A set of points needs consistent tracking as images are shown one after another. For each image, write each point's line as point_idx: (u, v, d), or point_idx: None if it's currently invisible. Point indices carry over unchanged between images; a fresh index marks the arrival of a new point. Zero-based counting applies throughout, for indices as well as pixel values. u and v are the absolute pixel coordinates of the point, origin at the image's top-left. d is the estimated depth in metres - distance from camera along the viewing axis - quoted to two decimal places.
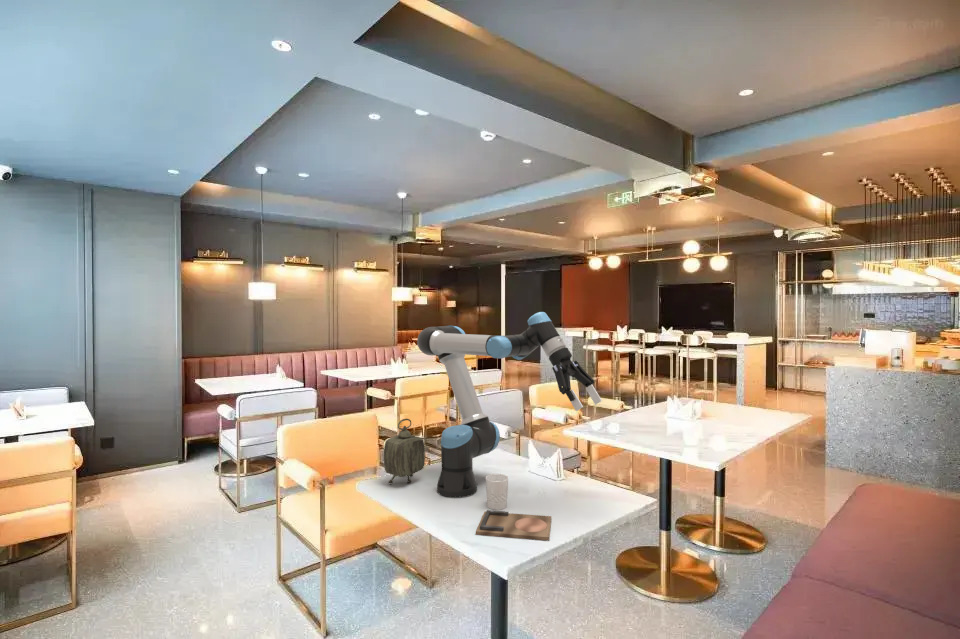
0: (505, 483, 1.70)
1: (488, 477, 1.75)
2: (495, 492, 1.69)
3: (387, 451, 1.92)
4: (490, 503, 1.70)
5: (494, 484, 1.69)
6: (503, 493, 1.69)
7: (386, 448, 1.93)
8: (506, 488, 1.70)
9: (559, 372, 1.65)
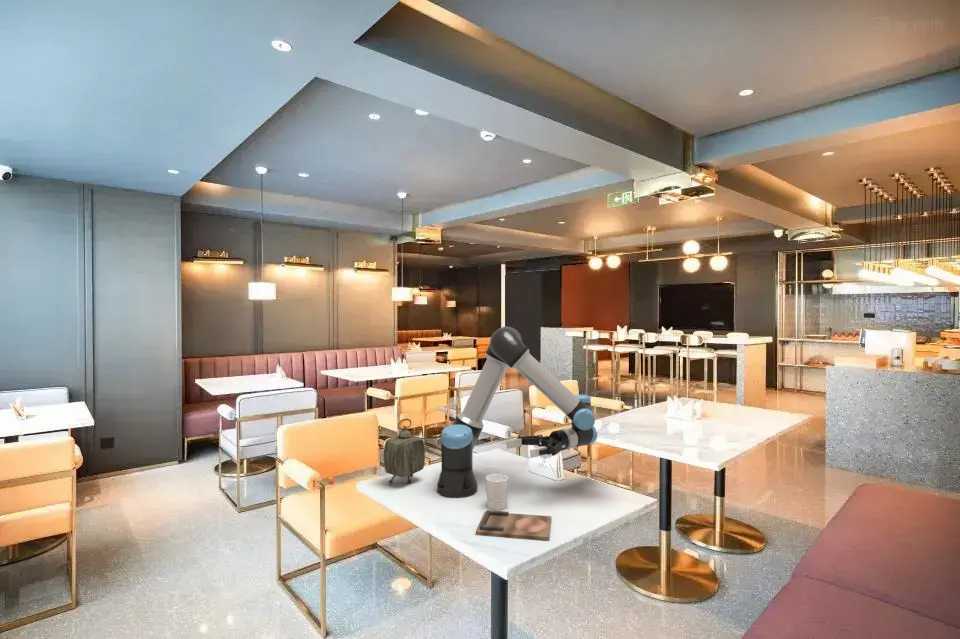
0: (505, 483, 1.70)
1: (488, 477, 1.75)
2: (495, 492, 1.69)
3: (387, 451, 1.92)
4: (490, 503, 1.70)
5: (494, 484, 1.69)
6: (503, 493, 1.69)
7: (386, 449, 1.93)
8: (506, 488, 1.70)
9: (561, 449, 1.79)
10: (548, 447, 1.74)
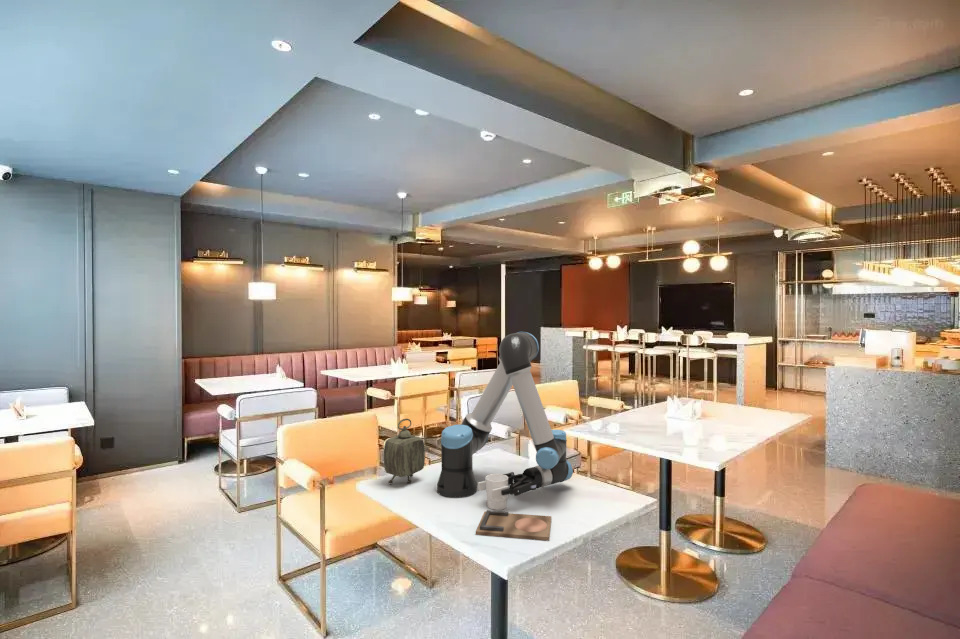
0: (505, 483, 1.70)
1: (488, 477, 1.75)
2: None
3: (387, 451, 1.92)
4: (490, 503, 1.70)
5: (494, 484, 1.69)
6: None
7: (386, 449, 1.93)
8: None
9: (529, 490, 1.72)
10: (510, 487, 1.69)
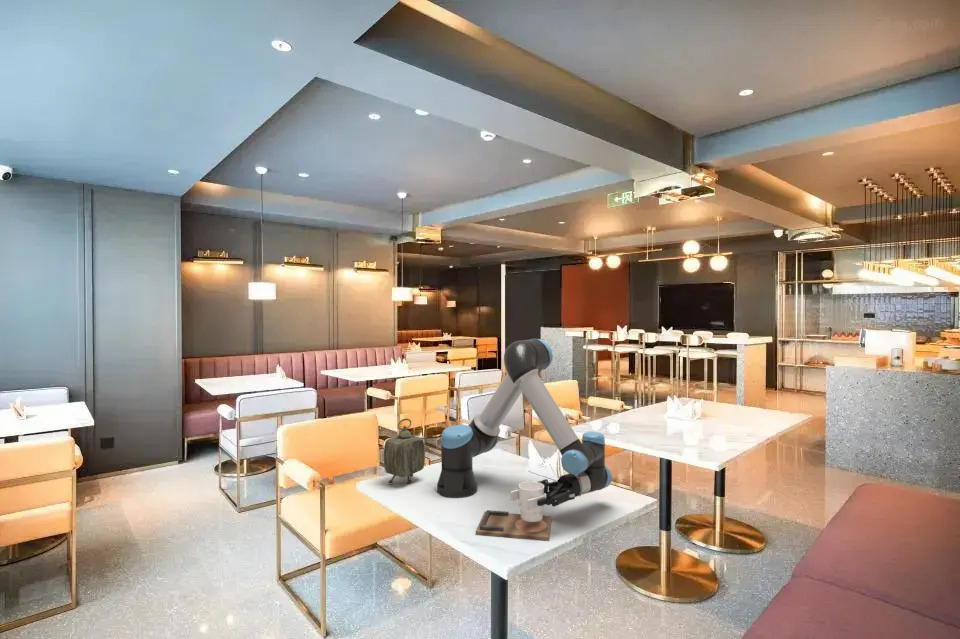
0: (541, 492, 1.52)
1: (521, 485, 1.57)
2: None
3: (387, 451, 1.92)
4: (525, 515, 1.53)
5: (529, 493, 1.51)
6: None
7: (386, 448, 1.93)
8: None
9: (567, 499, 1.55)
10: (547, 496, 1.52)
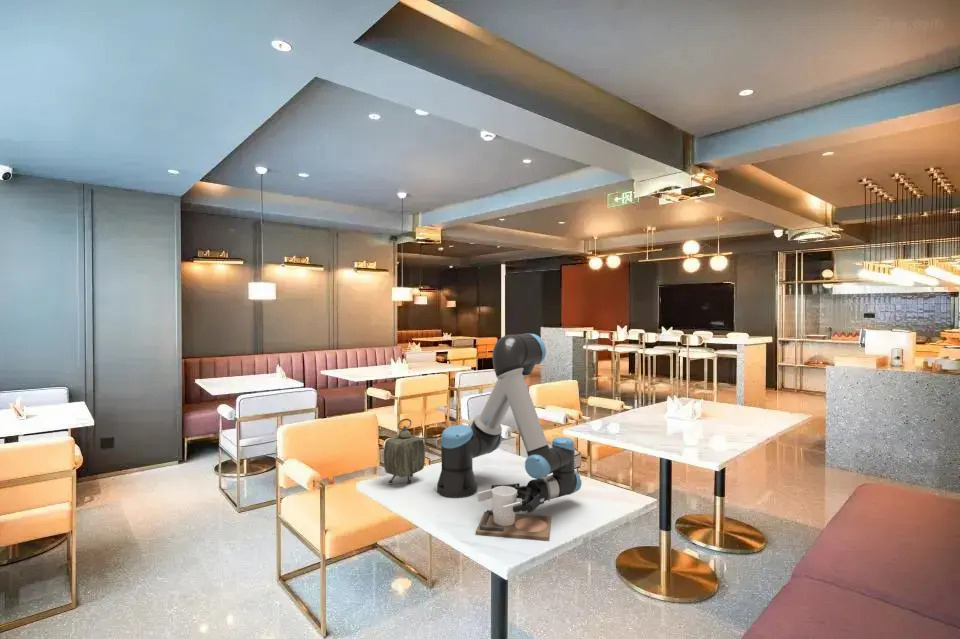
0: (513, 497, 1.55)
1: (495, 490, 1.60)
2: (502, 507, 1.54)
3: (387, 451, 1.92)
4: (497, 519, 1.55)
5: (502, 498, 1.54)
6: None
7: (386, 448, 1.93)
8: (514, 502, 1.55)
9: (538, 504, 1.57)
10: (523, 503, 1.52)
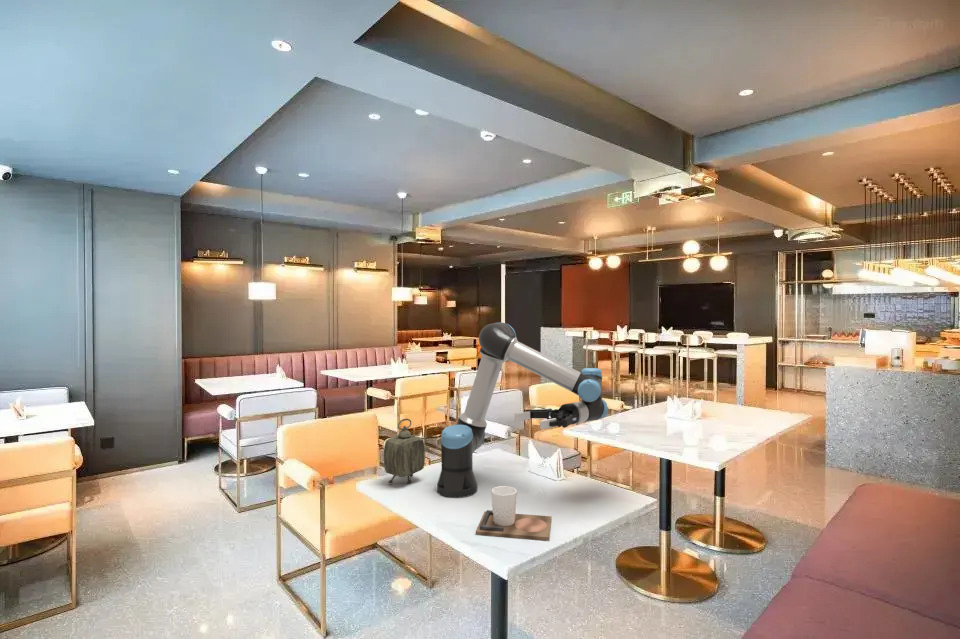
0: (513, 497, 1.55)
1: (494, 490, 1.60)
2: (502, 507, 1.54)
3: (387, 451, 1.92)
4: (497, 519, 1.55)
5: (501, 498, 1.54)
6: (511, 508, 1.54)
7: (386, 449, 1.93)
8: (514, 502, 1.55)
9: (571, 422, 1.71)
10: (559, 419, 1.67)
